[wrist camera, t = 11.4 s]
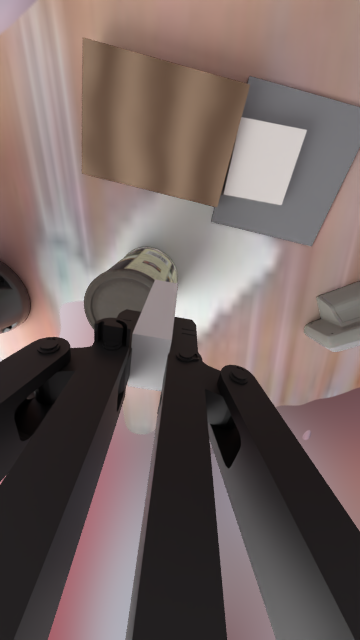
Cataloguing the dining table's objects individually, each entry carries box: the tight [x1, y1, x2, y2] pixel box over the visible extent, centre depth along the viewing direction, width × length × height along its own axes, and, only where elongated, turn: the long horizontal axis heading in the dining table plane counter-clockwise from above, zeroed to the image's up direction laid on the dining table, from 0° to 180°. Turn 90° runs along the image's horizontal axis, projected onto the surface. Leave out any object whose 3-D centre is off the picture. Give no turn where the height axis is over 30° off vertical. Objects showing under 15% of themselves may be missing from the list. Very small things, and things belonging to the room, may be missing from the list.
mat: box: [211, 76, 360, 246], centre depth 30 cm, size 16×16×1 cm
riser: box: [82, 38, 250, 207], centre depth 28 cm, size 18×12×4 cm, turn 78°
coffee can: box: [84, 247, 178, 329], centre depth 32 cm, size 10×10×14 cm
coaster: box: [222, 117, 307, 205], centre depth 29 cm, size 8×8×2 cm
